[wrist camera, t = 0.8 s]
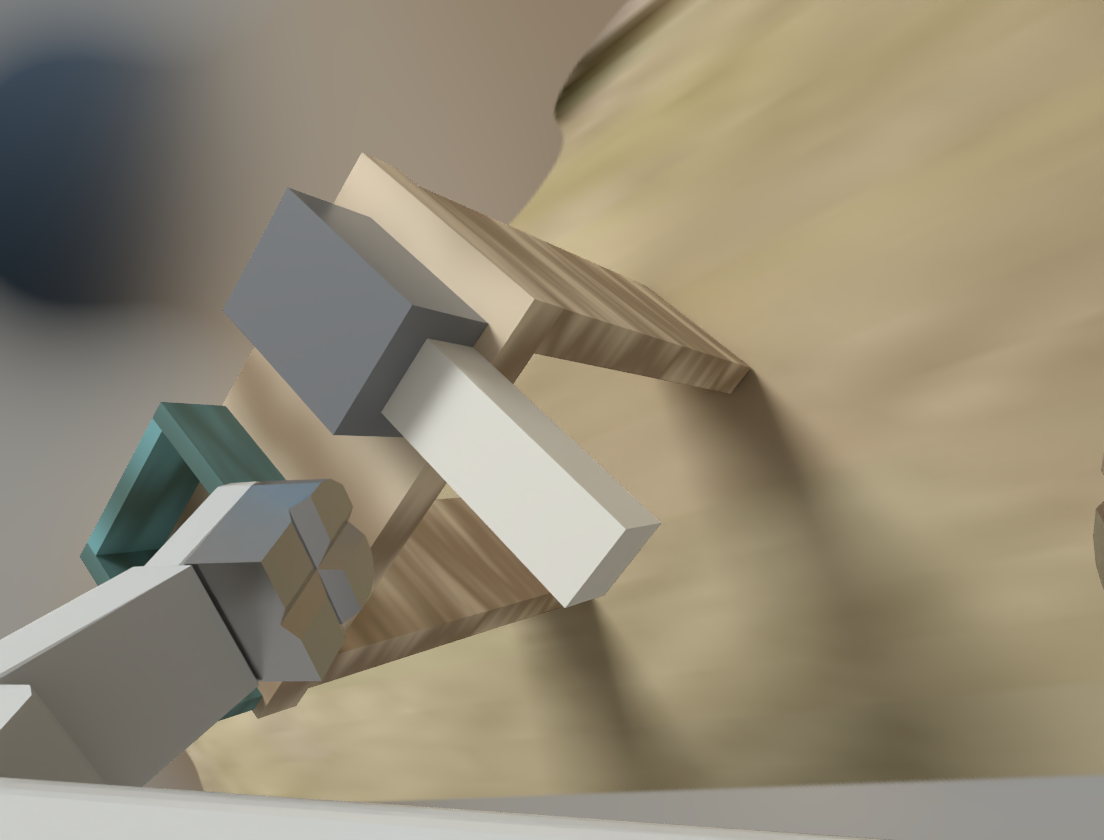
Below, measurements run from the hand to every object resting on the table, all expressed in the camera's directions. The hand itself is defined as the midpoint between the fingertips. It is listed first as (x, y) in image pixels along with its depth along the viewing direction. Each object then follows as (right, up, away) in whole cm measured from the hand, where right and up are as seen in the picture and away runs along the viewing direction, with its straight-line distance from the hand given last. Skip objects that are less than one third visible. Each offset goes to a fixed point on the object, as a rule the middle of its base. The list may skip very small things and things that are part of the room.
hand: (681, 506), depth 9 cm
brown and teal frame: (+2, -1, +46) cm, 46 cm away
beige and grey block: (-4, +2, +19) cm, 20 cm away
